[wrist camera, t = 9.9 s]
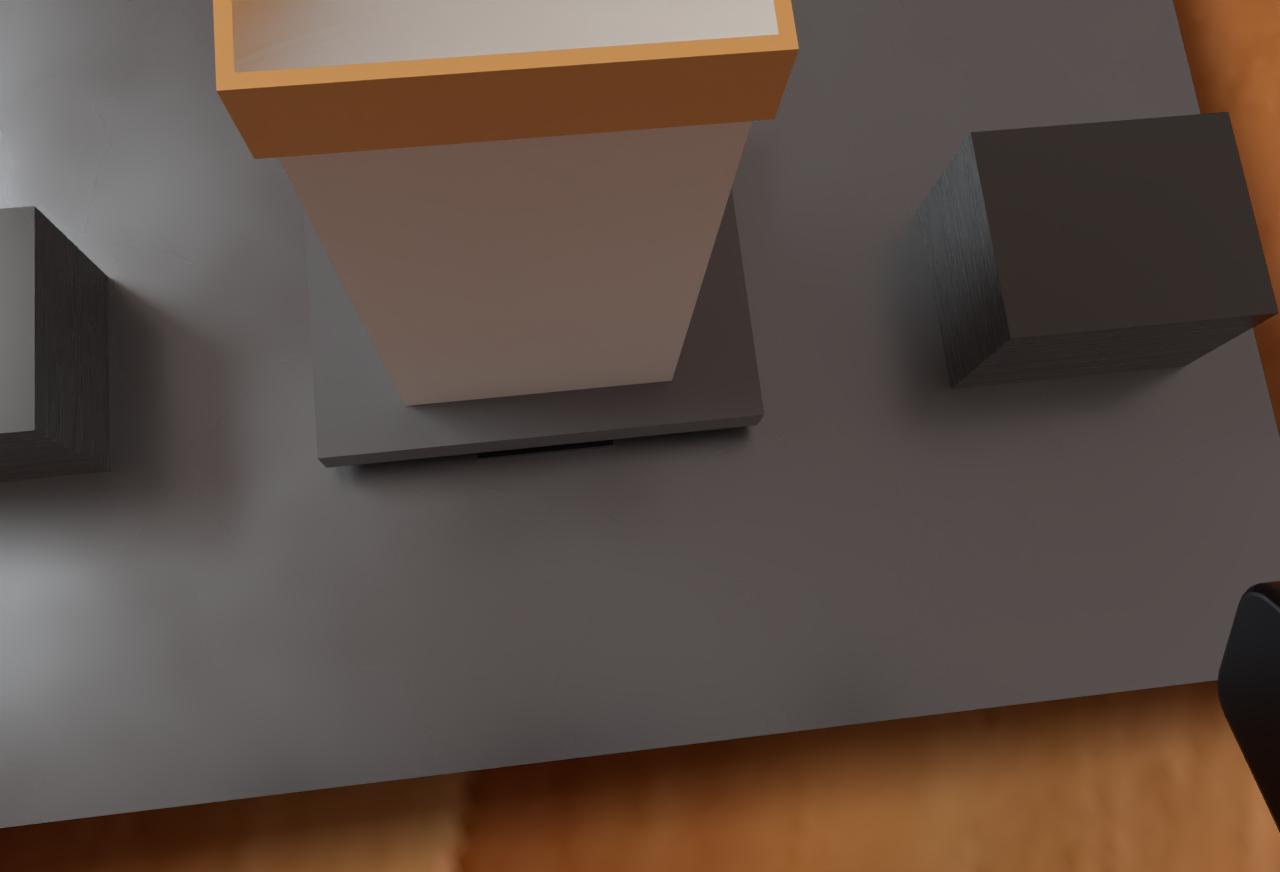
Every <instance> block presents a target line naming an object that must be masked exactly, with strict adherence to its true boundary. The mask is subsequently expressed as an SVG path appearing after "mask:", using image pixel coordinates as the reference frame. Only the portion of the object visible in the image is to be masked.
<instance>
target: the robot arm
mask: <svg viewBox="0 0 1280 872" xmlns="http://www.w3.org/2000/svg"><path fill="white" fill-rule="evenodd" d="M1218 695H1219V700H1220V703H1221V707H1222V710H1223V712H1224V715H1225V717H1226V719H1227V721H1228V723H1229V726H1230V728H1231V730H1232V732H1233V734H1234V736H1235V738H1236V741H1237V743H1238V745H1239V747H1240V749H1241V751H1242V753H1243V755H1244V758H1245V760H1246V762H1247V764H1248V766H1249V768H1250V770H1251V772H1252V775H1253V777H1254V779H1255V781H1256V783H1257V785H1258V787H1259V789H1260V792H1261V794H1262V796H1263V798H1264V800H1265V802H1266V804H1267V806H1268V809H1269V811H1270V813H1271V815H1272V817H1273V819H1274V821H1275V823H1276V826H1277V828H1278V830H1279V832H1280V581H1273V582H1264V583H1258V584H1255V585H1253V586H1251V587H1249V588H1248V589H1247V590H1246V592H1245V593H1244V594H1243V595H1242V596H1241V599H1240V601H1239V604H1238V607H1237V611H1236V614H1235V618H1234V621H1233V624H1232V628H1231V631H1230V635H1229V638H1228V641H1227V645H1226V648H1225V652H1224V655H1223V658H1222V662H1221V665H1220V669H1219V673H1218Z"/></svg>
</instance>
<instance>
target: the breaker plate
mask: <svg viewBox="0 0 1280 872" xmlns="http://www.w3.org/2000/svg"><path fill="white" fill-rule="evenodd" d="M791 4H792V10H793V16H794V22H795V28H796V34H797V41H798V47H799V50H798V53H797V56H796V59H795V62H794V65H793V67H792V70H791V73H790V76H789V79H788V82H787V85H786V88H785V91H784V94H783V96H782V99H781V102H780V105H779V108H778V111H777V114H776V117H775V119H772V120H759V121H752V123H751V126H750V129H749V133H748V136H747V139H746V142H745V146H744V149H743V152H742V155H741V159H740V162H739V165H738V168H737V172H736V175H735V178H734V181H733V184H732V193H733V200H734V207H735V214H736V221H737V228H738V235H739V242H740V249H741V256H742V263H743V270H744V277H745V284H746V291H747V298H748V304H749V311H750V318H751V325H752V332H753V339H754V346H755V353H756V360H757V367H758V374H759V381H760V388H761V395H762V402H763V409H764V416H763V417H762V419H761V420H760V422H759V424H758V425H754V426H744V427H734V428H724V429H714V430H704V431H694V432H684V433H673V434H663V435H653V436H643V437H633V438H623V439H613V440H603V441H593V442H582V443H572V444H562V445H552V446H542V447H532V448H522V449H512V450H502V451H491V452H481V453H471V454H461V455H451V456H441V457H431V458H421V459H411V460H401V461H390V462H380V463H370V464H360V465H350V466H340V467H330V468H326V467H325V466H324V465H323V464H322V463H321V461H320V460H319V459H318V457H317V439H316V421H315V403H314V384H313V366H312V348H311V330H310V312H309V293H308V275H307V257H306V239H305V221H304V207H303V205H302V203H301V201H300V199H299V197H298V195H297V193H296V191H295V189H294V187H293V185H292V183H291V181H290V179H289V177H288V176H287V174H286V172H285V170H284V168H283V166H282V164H281V162H280V160H279V158H278V157H277V158H264V159H254V157H253V155H252V154H251V152H250V150H249V148H248V147H247V145H246V143H245V141H244V139H243V138H242V136H241V134H240V132H239V130H238V129H237V127H236V125H235V123H234V121H233V120H232V118H231V116H230V114H229V112H228V111H227V109H226V107H225V105H224V104H223V102H222V100H221V98H220V96H219V95H218V93H217V91H216V67H215V41H214V15H213V0H0V828H5V827H14V826H22V825H30V824H38V823H47V822H55V821H63V820H71V819H79V818H88V817H96V816H104V815H112V814H121V813H129V812H137V811H145V810H153V809H162V808H170V807H178V806H186V805H195V804H203V803H211V802H219V801H227V800H236V799H244V798H252V797H260V796H269V795H277V794H285V793H293V792H302V791H310V790H318V789H326V788H334V787H343V786H351V785H359V784H367V783H376V782H384V781H392V780H400V779H408V778H417V777H425V776H433V775H441V774H450V773H458V772H466V771H474V770H482V769H491V768H499V767H507V766H515V765H524V764H532V763H540V762H548V761H557V760H565V759H573V758H581V757H589V756H598V755H606V754H614V753H622V752H631V751H639V750H647V749H655V748H663V747H672V746H680V745H688V744H696V743H705V742H713V741H721V740H729V739H737V738H746V737H754V736H762V735H770V734H779V733H787V732H795V731H803V730H812V729H820V728H828V727H836V726H844V725H853V724H861V723H869V722H877V721H886V720H894V719H902V718H910V717H918V716H927V715H935V714H943V713H951V712H960V711H968V710H976V709H984V708H992V707H1001V706H1009V705H1017V704H1025V703H1034V702H1042V701H1050V700H1058V699H1067V698H1075V697H1083V696H1091V695H1099V694H1108V693H1116V692H1124V691H1132V690H1141V689H1149V688H1157V687H1165V686H1173V685H1182V684H1190V683H1198V682H1206V681H1215V680H1218V673H1219V669H1220V665H1221V662H1222V658H1223V655H1224V652H1225V648H1226V645H1227V641H1228V638H1229V635H1230V631H1231V628H1232V624H1233V621H1234V618H1235V614H1236V611H1237V607H1238V604H1239V601H1240V599H1241V596H1242V595H1243V594H1244V593H1245V592H1246V590H1247V589H1248V588H1249V587H1251V586H1253V585H1255V584H1258V583H1264V582H1273V581H1280V436H1279V432H1278V428H1277V424H1276V420H1275V416H1274V412H1273V408H1272V404H1271V400H1270V395H1269V391H1268V387H1267V383H1266V379H1265V375H1264V371H1263V367H1262V363H1261V359H1260V355H1259V351H1258V346H1257V342H1256V338H1255V334H1254V330H1253V327H1255V326H1256V325H1258V324H1260V323H1262V322H1263V321H1265V320H1267V319H1269V318H1270V317H1272V316H1274V315H1276V314H1277V313H1278V309H1277V305H1276V301H1275V297H1274V293H1273V289H1272V285H1271V281H1270V277H1269V273H1268V269H1267V265H1266V261H1265V257H1264V253H1263V249H1262V245H1261V241H1260V237H1259V233H1258V229H1257V225H1256V221H1255V217H1254V213H1253V209H1252V206H1251V202H1250V198H1249V194H1248V190H1247V186H1246V182H1245V178H1244V174H1243V170H1242V166H1241V162H1240V158H1239V154H1238V150H1237V146H1236V142H1235V138H1234V134H1233V130H1232V126H1231V122H1230V118H1229V114H1228V112H1221V113H1208V114H1201V113H1200V109H1199V105H1198V101H1197V97H1196V93H1195V89H1194V85H1193V81H1192V77H1191V73H1190V68H1189V64H1188V60H1187V56H1186V52H1185V48H1184V44H1183V40H1182V36H1181V32H1180V28H1179V24H1178V19H1177V15H1176V11H1175V7H1174V3H1173V0H791Z"/></svg>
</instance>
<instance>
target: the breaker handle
mask: <svg viewBox="0 0 1280 872" xmlns="http://www.w3.org/2000/svg"><path fill="white" fill-rule="evenodd" d="M213 15H214V41H215V67H216V91H217V93H218V95H219V96H220V98H221V100H222V102H223V104H224V105H225V107H226V109H227V111H228V112H229V114H230V116H231V118H232V120H233V121H234V123H235V125H236V127H237V129H238V130H239V132H240V134H241V136H242V138H243V139H244V141H245V143H246V145H247V147H248V148H249V150H250V152H251V154H252V155H253V157H254V159H264V158H277V157H278V158H279V160H280V162H281V164H282V166H283V168H284V170H285V172H286V174H287V176H288V177H289V179H290V181H291V183H292V185H293V187H294V189H295V191H296V193H297V195H298V197H299V199H300V201H301V203H302V205H303V207H304V221H305V239H306V257H307V275H308V293H309V312H310V330H311V348H312V366H313V384H314V403H315V421H316V439H317V457H318V459H319V460H320V461H321V463H322V464H323V465H324V466H325V467H326V468H330V467H340V466H350V465H360V464H370V463H380V462H390V461H401V460H411V459H421V458H431V457H441V456H451V455H461V454H471V453H481V452H491V451H502V450H512V449H522V448H532V447H542V446H552V445H562V444H572V443H582V442H593V441H603V440H613V439H623V438H633V437H643V436H653V435H663V434H673V433H684V432H694V431H704V430H714V429H724V428H734V427H744V426H754V425H758V424H759V422H760V420H761V419H762V417H763V416H764V409H763V402H762V395H761V388H760V381H759V374H758V367H757V360H756V353H755V346H754V339H753V332H752V325H751V318H750V311H749V304H748V298H747V291H746V284H745V277H744V270H743V263H742V256H741V249H740V242H739V235H738V228H737V221H736V214H735V207H734V200H733V193H732V184H733V181H734V178H735V175H736V172H737V168H738V165H739V162H740V159H741V155H742V152H743V149H744V146H745V142H746V139H747V136H748V133H749V129H750V126H751V123H752V121H759V120H772V119H775V117H776V114H777V111H778V108H779V105H780V102H781V99H782V96H783V94H784V91H785V88H786V85H787V82H788V79H789V76H790V73H791V70H792V67H793V65H794V62H795V59H796V56H797V53H798V50H799V47H798V41H797V34H796V28H795V22H794V16H793V10H792V4H791V0H213Z"/></svg>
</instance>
